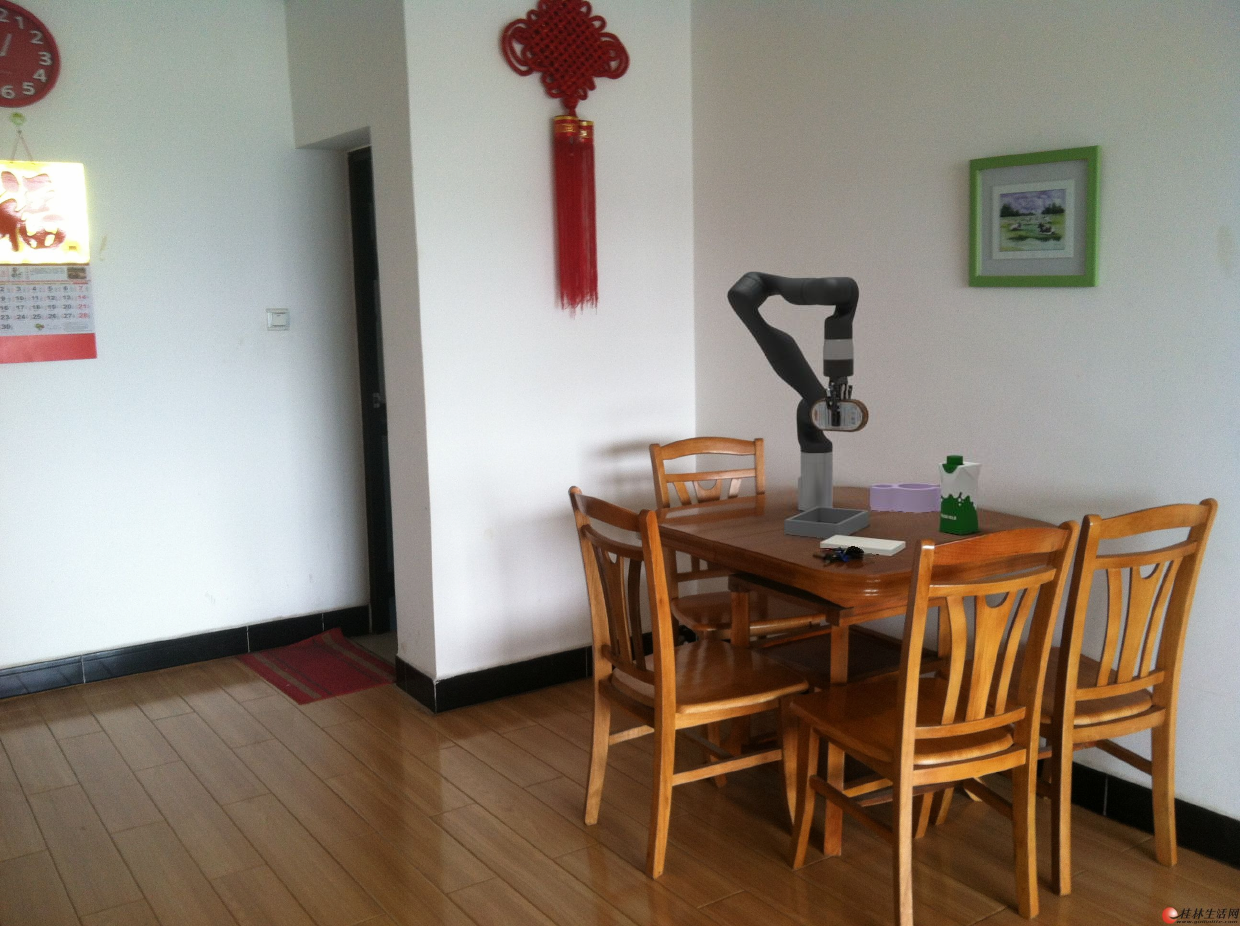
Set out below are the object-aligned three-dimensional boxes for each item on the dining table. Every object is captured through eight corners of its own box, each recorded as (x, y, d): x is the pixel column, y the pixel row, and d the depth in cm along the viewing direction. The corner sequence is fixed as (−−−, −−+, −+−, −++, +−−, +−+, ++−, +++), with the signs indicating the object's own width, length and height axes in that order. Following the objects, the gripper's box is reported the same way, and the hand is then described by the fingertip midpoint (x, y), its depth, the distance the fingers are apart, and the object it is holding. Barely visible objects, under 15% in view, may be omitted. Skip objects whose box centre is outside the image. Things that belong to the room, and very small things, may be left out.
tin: (868, 432, 268) (869, 398, 267) (864, 433, 266) (864, 399, 265) (813, 430, 277) (813, 397, 276) (808, 430, 274) (808, 397, 273)
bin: (784, 534, 280) (784, 519, 279) (817, 520, 297) (817, 506, 297) (838, 540, 272) (838, 525, 271) (868, 525, 289) (869, 510, 288)
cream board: (820, 548, 263) (820, 542, 263) (836, 540, 271) (836, 534, 271) (891, 556, 253) (891, 549, 253) (905, 547, 261) (905, 541, 261)
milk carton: (933, 531, 279) (934, 455, 276) (957, 526, 284) (958, 452, 281) (961, 536, 272) (962, 458, 269) (984, 531, 277) (985, 455, 274)
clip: (871, 513, 306) (872, 489, 305) (869, 505, 318) (869, 482, 317) (944, 513, 302) (944, 489, 302) (938, 505, 315) (938, 482, 314)
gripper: (841, 359, 261) (841, 429, 263) (862, 355, 272) (862, 423, 275) (813, 359, 265) (813, 428, 268) (835, 355, 277) (835, 422, 279)
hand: (838, 425), depth 271 cm, fingers closed on tin, 2 cm apart
